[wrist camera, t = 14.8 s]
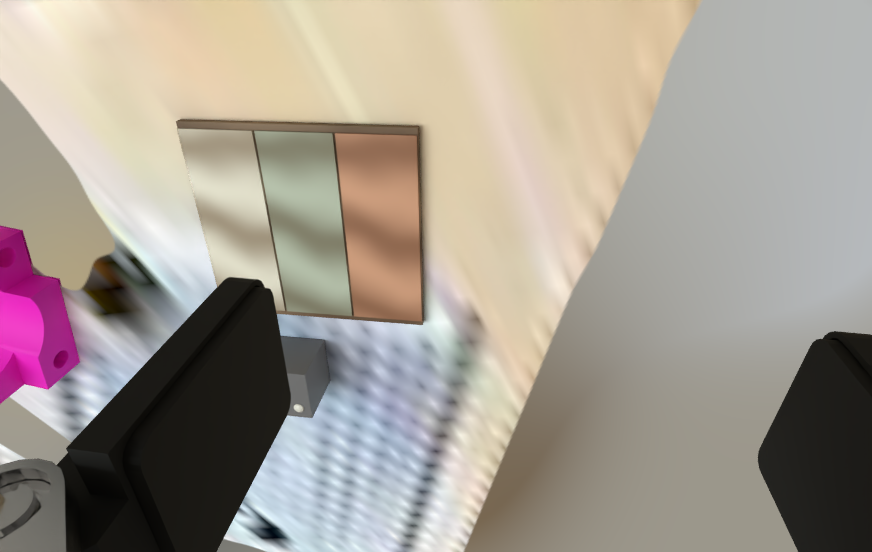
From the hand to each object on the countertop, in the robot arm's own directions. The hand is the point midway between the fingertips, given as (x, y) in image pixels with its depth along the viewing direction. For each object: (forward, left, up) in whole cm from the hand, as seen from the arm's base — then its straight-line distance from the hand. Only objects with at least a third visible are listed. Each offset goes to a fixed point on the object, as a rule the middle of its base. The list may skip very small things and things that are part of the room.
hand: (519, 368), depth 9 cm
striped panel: (+12, -16, -30) cm, 36 cm away
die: (+26, -19, -30) cm, 43 cm away
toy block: (+21, -46, -30) cm, 59 cm away
